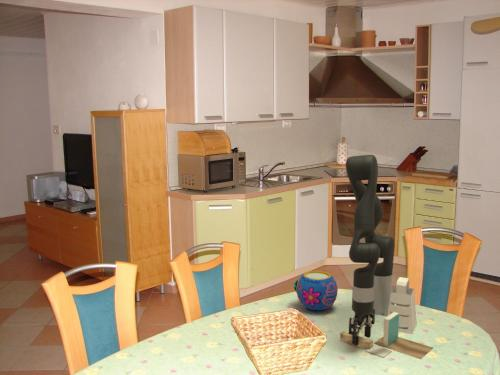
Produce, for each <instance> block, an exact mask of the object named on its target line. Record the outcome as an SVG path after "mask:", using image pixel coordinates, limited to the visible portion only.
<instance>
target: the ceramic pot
mask: <svg viewBox="0 0 500 375" xmlns="http://www.w3.org/2000/svg"><path fill="white" fill-rule="evenodd" d="M293 289H294V291H295V293H296V295H297V299H298V301H299V302H300V305H302V306H303V307H305V308H307V309H308V310H311V311H324V310H327V309H329V308H331V307H332V306H333V305H334V303H335V301H337V297H338V290H339V289H338V284H337V281H336V280H335V278H334V277H333V275H332V274H330V273H329V272H326V271H322V270H321V271H320V270H310V271H306V272H305V273H303V274H302V275H301V276H300V277H299V278H298V279H297V280H295V281H294V283H293Z"/></svg>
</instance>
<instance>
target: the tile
mask: <svg viewBox="0 0 500 375" xmlns="http://www.w3.org/2000/svg"><path fill="white" fill-rule="evenodd" d="M398 328H400V327H399V313H396V312H393V313H392V314H390V315H389V316H385V317H384V318H383V335H382V337H383V345H386V346H389V345H390V344H391V343H393V342H394V341H395V340H397V339H398V337H399V332H398Z"/></svg>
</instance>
